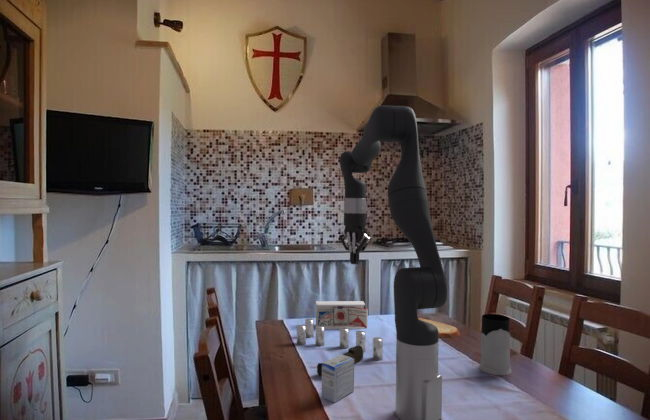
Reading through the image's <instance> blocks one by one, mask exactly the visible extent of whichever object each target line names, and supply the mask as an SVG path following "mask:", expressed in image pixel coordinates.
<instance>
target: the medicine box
mask: <svg viewBox="0 0 650 420" xmlns="http://www.w3.org/2000/svg"><path fill="white" fill-rule="evenodd" d="M321 363H322V377H321V398H322V399H325V400H327V401H329V402H332V403H337V402H339V401H340V400H342V399H344V398H345V397H347V396H348V395H350V394H351V393H353V392H354V391H355V364H354V359H353V358H351V357H348V356H345V355H343V354H339V355H336V356H335V357H333V358H330V359H328V360H326V361H324V362H321Z"/></svg>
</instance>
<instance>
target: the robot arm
mask: <svg viewBox="0 0 650 420" xmlns="http://www.w3.org/2000/svg"><path fill="white" fill-rule="evenodd" d="M370 114H371V115H370V117H369V119H368V122H367V123H366V126H365V129H364V131H363V134H362V136H361V137H360V140H359V141H358V142H357V143H356V145H354V147H353V149H352V150H346V151H343V152H342V153H341V155H340V157H339V167H340V170H341V172H342V173H341V174H342V177H343V181H344V182H343V183H344V203H343V226H344V230H343V233H342V234H339V235H338V238H339V239H340V242H341V244H342V245H343V247H344V249H345V251H347V252H349V261H350V264H352V265H358V264H359V263H360V253H361V252H364V251H365V250H366V249H367V247H368V245H369V244H370V243H371V241H372V237H371V236H368V235H367V231H366V226H367V184H366V182H365V181H364V180H361V179H358V178H355V176H354V175H353V174H354V173H355V174H365V173H367V172H370V170H371V168H372V163H373V161H374V160H375V159H376V158H377V157H378V156H379V154H380V152H381V149H382V148H381V147H382V144H381V142H382V143H399V145H400V148H401V149H400V150H401V153H400V154H401V155H400V160H399V163H398V165H397V167H396V169H395V171H394V173H393V175H392V176H391V178H390V180H389V183H388V186H387V193H386V194H387V200H388V206H389V213H390V215H391V216H390V217H391V218H392V220H393V222H394V224H395V225H396V226H397V228H398V229H399V230H400V232H402V235H404V236H405V238H406V239H407V240H408V241H409V242H410V244H411V246H412V247H413V249H414V251H415V254H416V258H417V259H418V263H419V266H417V267H415V266H414V267H412V266H411V267H403V268H398V270H397V271H396V273H395V274H394V279H393V303H394V324H395V331H396V341H395V342H396V343H395V345H396V349H395V350H396V351H395V353H396V354H395V356H396V357H395V365H396V366H395V415H396V417H397V418H398V419H399V420H441V419H442V418H443V413H442V411H443V408H442V407H443V406H442V405H443V404H442V403H443V376H442V375H441V374H439V338H440V337H439V333H438V329H437V327H436V326H434V325H433V324H430V323H428V322H425V321H421V320H419V319H418V317H419V316H418V310H425V309H427V310H429V309H440V308H441V307H443V306H444V305H445V304H446V302H447V298H448V285H447V279H446V275H445V271H444V267H443V263H442V261H441V256H440V253H439V249H438V245H437V242H436V238H435V233H434V228H433V222H432V218H431V212H430V211H431V210H430V203H429V199H428V192H427V188H426V184H425V179H424V174H423V169H422V162H421V155H420V145H419V133H418V123H417V116H416V113H415V111H414V110H413V108H412V107H410V106H406V105H389V104H387V105H386V104H384V105H378V106H377V107H375V109H373V111H372V112H371V113H370Z"/></svg>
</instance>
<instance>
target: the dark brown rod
mask: <svg viewBox="0 0 650 420" xmlns="http://www.w3.org/2000/svg"><path fill="white" fill-rule="evenodd" d="M347 350H348V351H347V352H345V353H343V354H342V355H345V356H348V357H351V358H353V359H354V365H357V364H358V363H360V362H361V361H362V360H363V359H364V352H363V349H362V347H361V346H356V345H355V346H352V347H350V348H347ZM322 363H323V362H319V363H317V365H316V373H317V376H319V377H321V378H322Z"/></svg>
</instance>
